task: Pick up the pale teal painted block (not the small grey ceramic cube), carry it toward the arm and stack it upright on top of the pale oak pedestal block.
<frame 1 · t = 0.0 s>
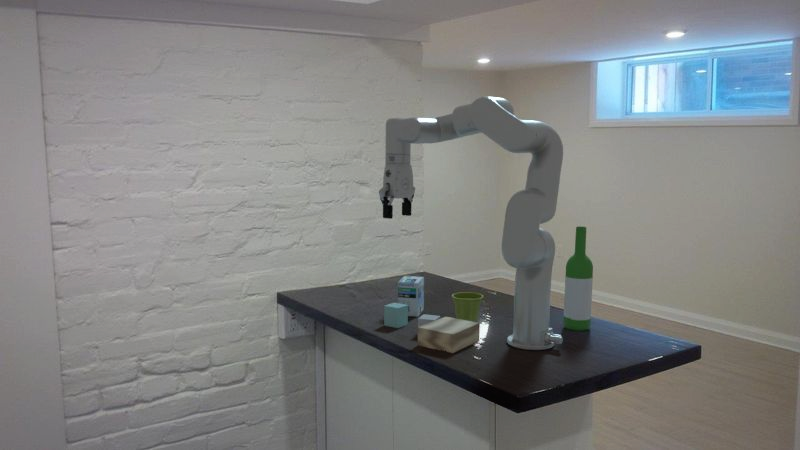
hand: (397, 216, 214), 31 cm above the worktop, fingers open, 9 cm apart
teal block: (395, 325, 209), on the worktop
oak pedestal: (448, 342, 192), on the worktop
light bulb box: (410, 313, 224), on the worktop
plant pot: (466, 324, 211), on the worktop
wine bottle: (576, 328, 208), on the worktop
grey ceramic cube: (429, 334, 200), on the worktop
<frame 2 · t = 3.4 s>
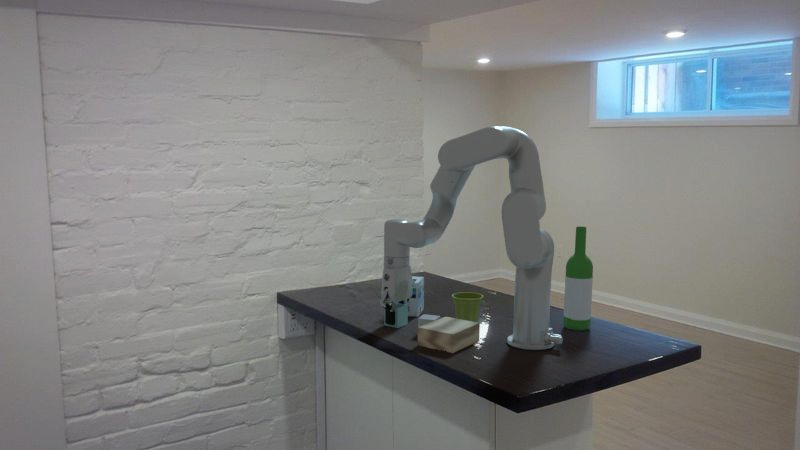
hand: (395, 321, 209), 1 cm above the worktop, fingers closed on teal block, 5 cm apart
teal block: (395, 324, 209), on the worktop, touching gripper
everything else where it was.
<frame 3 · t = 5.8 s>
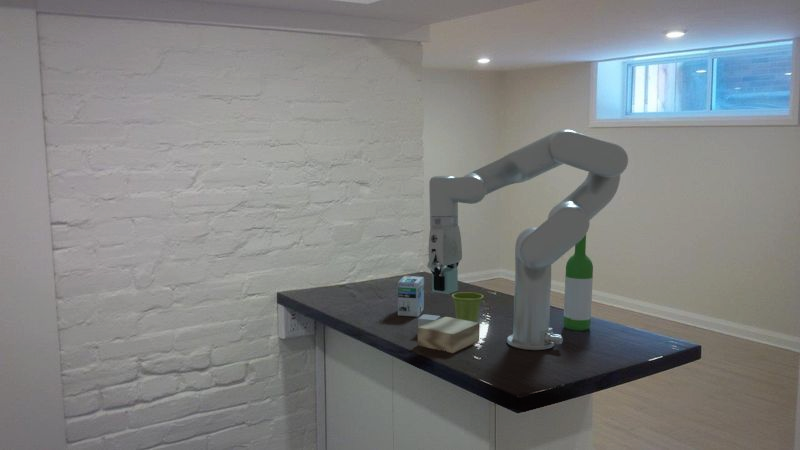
hand: (445, 287, 192), 15 cm above the worktop, fingers closed on teal block, 5 cm apart
teal block: (445, 291, 192), point 14 cm above the worktop, touching gripper
everything else where it was.
when the fingers open (7 cm above the worktop, at t = 8.4 s): teal block drops 1 cm, resting on oak pedestal.
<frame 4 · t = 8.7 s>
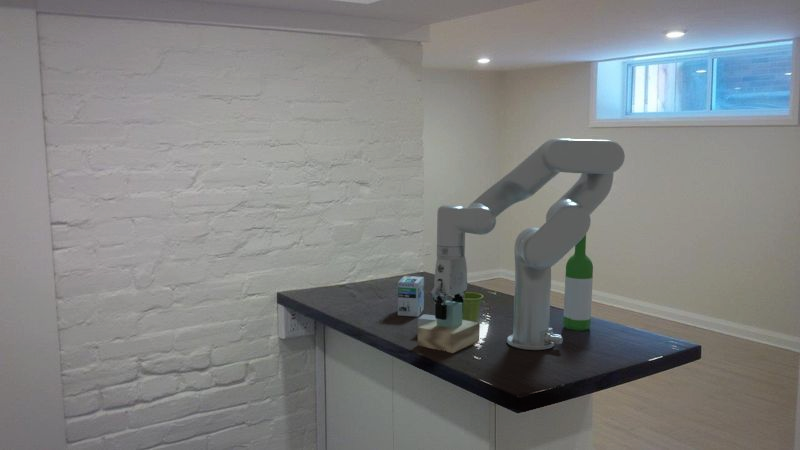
hand: (449, 315, 191), 8 cm above the worktop, fingers open, 8 cm apart
teal block: (449, 325, 191), point 5 cm above the worktop, touching oak pedestal
everything else where it was.
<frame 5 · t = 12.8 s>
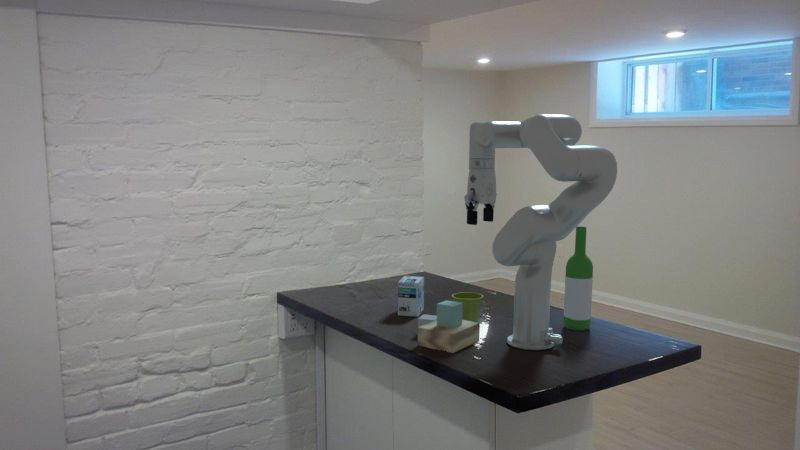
hand: (480, 222, 209), 30 cm above the worktop, fingers open, 9 cm apart
nothing on the worktop moved.
at the end: teal block 0.0 cm from the oak pedestal (horizontally); teal block point 5.0 cm above the worktop; teal block tilted 0° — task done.
